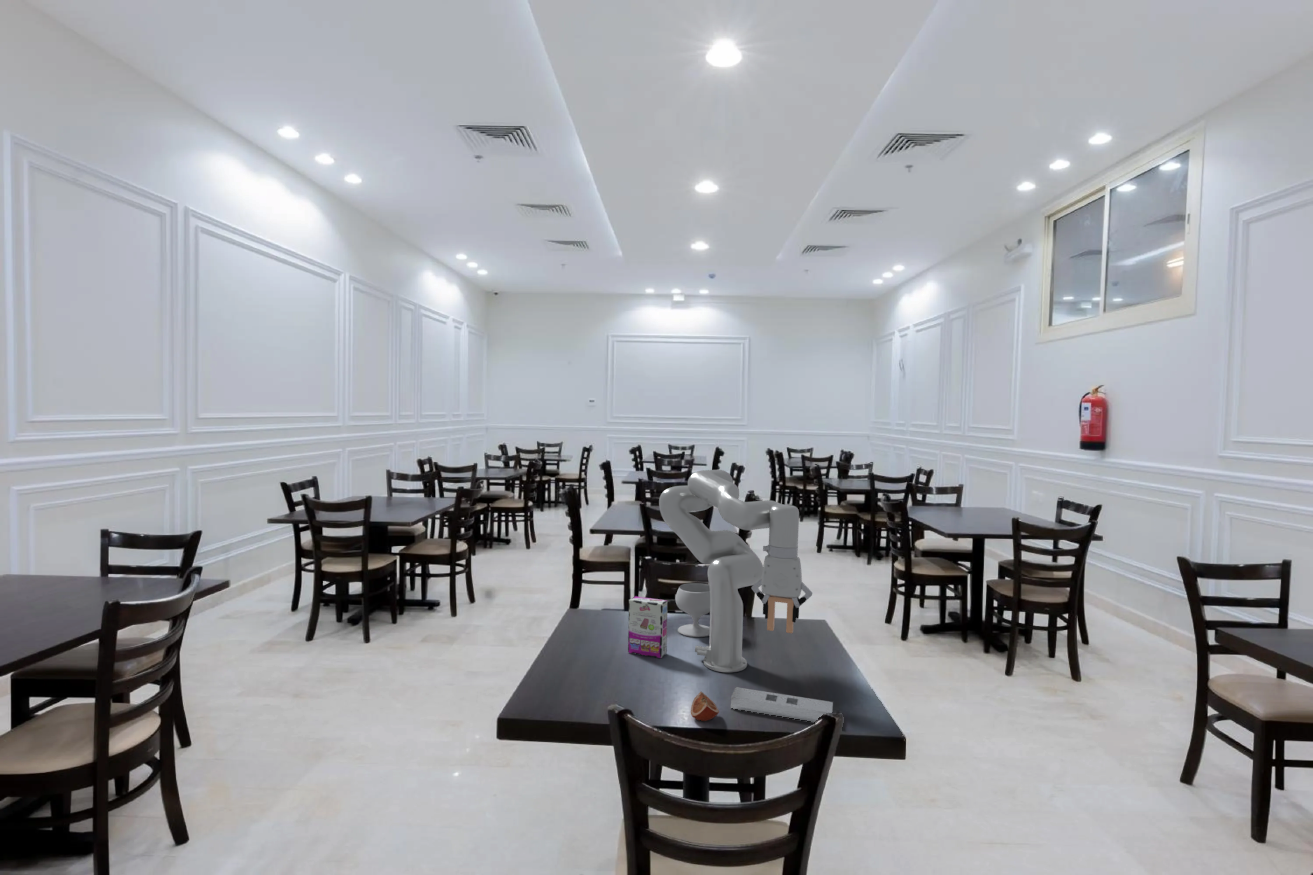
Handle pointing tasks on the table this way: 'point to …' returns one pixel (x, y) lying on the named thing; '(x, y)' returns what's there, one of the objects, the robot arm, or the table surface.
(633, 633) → the candy bar box
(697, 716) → the fruit slice
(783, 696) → the rail
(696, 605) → the chalice
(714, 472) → the robot arm
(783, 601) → the orange u-shaped block
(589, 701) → the table surface
